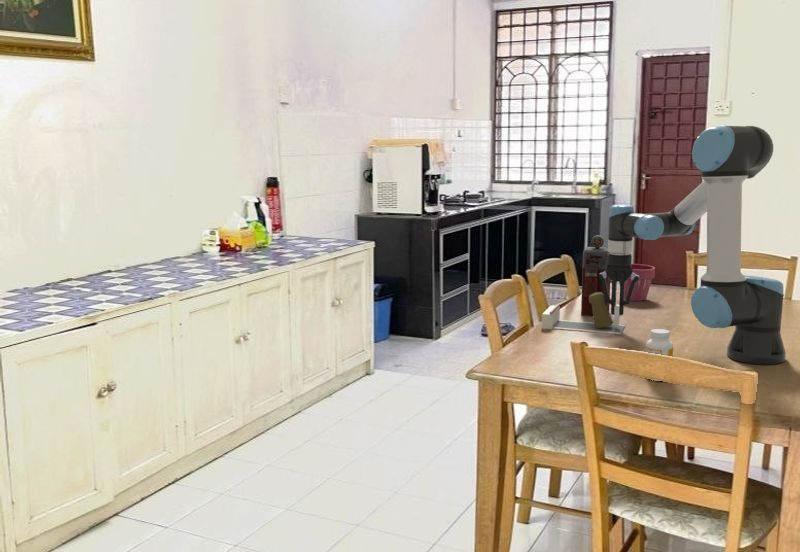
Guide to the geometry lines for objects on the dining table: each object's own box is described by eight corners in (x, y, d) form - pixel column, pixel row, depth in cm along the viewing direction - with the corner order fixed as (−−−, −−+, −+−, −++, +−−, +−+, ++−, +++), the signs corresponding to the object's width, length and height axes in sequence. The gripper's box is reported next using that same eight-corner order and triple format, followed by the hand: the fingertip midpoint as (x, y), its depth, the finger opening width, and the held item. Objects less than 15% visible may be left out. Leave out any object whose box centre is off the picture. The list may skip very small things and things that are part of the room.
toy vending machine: (580, 317, 276) (582, 237, 271) (584, 310, 286) (586, 233, 281) (606, 318, 273) (609, 238, 268) (609, 311, 283) (612, 234, 278)
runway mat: (620, 334, 251) (620, 333, 251) (551, 328, 260) (551, 327, 260) (625, 326, 262) (625, 325, 262) (558, 320, 271) (558, 319, 271)
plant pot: (657, 297, 307) (659, 265, 305) (648, 304, 295) (649, 270, 293) (621, 294, 315) (622, 262, 312) (610, 300, 303) (611, 267, 301)
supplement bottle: (666, 374, 209) (668, 327, 207) (675, 382, 203) (678, 333, 200) (641, 375, 209) (643, 328, 207) (649, 383, 202) (652, 334, 200)
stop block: (551, 329, 259) (551, 312, 258) (541, 328, 260) (542, 311, 259) (559, 320, 272) (559, 303, 271) (550, 319, 273) (551, 303, 272)
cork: (592, 329, 258) (584, 296, 257) (597, 324, 263) (589, 292, 262) (610, 326, 255) (602, 293, 254) (614, 321, 260) (606, 289, 259)
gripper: (642, 252, 254) (638, 323, 258) (600, 250, 259) (598, 320, 263) (639, 255, 247) (636, 329, 252) (597, 253, 252) (594, 325, 257)
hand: (616, 324), depth 258 cm, fingers closed
